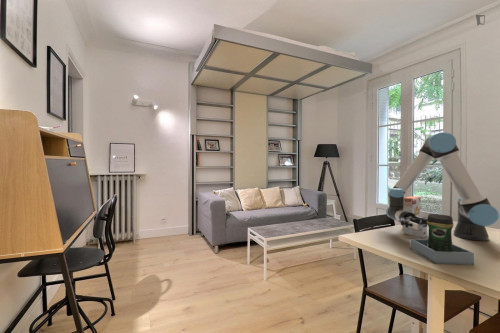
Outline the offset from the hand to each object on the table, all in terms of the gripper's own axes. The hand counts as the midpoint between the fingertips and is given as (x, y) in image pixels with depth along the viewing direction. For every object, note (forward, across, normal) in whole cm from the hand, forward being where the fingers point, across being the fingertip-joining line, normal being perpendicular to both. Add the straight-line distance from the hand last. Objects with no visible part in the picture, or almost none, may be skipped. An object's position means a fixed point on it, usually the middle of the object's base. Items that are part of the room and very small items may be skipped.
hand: (432, 227), depth 115 cm
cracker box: (-43, -17, -12) cm, 48 cm away
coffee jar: (+5, 0, -11) cm, 13 cm away
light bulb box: (-29, -10, -12) cm, 34 cm away
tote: (+5, 0, -12) cm, 13 cm away
